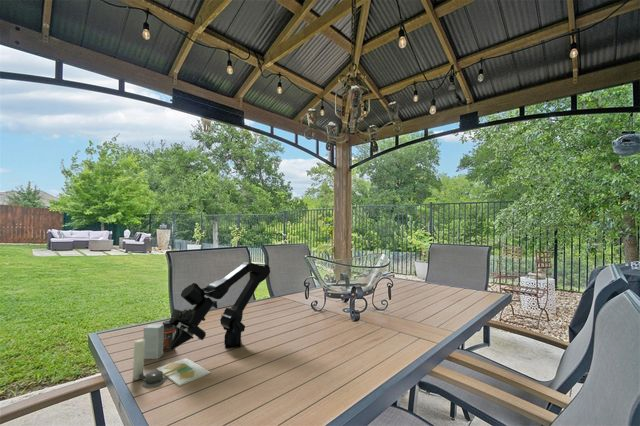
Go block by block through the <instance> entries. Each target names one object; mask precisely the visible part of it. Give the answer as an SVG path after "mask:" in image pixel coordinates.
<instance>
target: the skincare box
mask: <svg viewBox="0 0 640 426" xmlns="http://www.w3.org/2000/svg"><path fill="white" fill-rule="evenodd" d="M142 339H143V340H145V342H144V360H158V359H160V358H161V357H162V356H163V355H164V351H163V342H164V324H163V323H162V324H148V325H147V326H145V327H143V338H142Z"/></svg>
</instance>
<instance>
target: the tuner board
mask: <svg viewBox="0 0 640 426" xmlns="http://www.w3.org/2000/svg"><path fill="white" fill-rule="evenodd" d="M184 363H185V364H187V366H186V367H185V368H182V369H179V370H176V371H174V372H171V373H169V374H166V375H164V376H163V379H162V380H161V381H160V382H157V383H154V384H147V383H146V382H145V379H143V381H142V383H141V386H142V387H144V388H153V387H158V386H160V385H162V384H164V383H165V381H167V380H166V378H167V379H169V380H170V381H171V382H173V383H174V384H175V385H177V386H178V387H180V386H183V385H185V384H188V383H190V382H193V381H195V380H198V379H200V378H203V377H205V376H207V375H210V374H211V371H209V370H208V369H206V368H204V367H203V366H201V365H199V364H197V363H196V362H194V361H193V360H190V359H189V358H187V357H185V358H181V359H179V360H175V361H173V362H170V363H168V364H165V365H161V366H159V367H156V369H155V371H162V372H165V371H168V370H170V369H173V368H176V367H178V366H180V365H182V364H184Z"/></svg>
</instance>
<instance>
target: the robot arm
mask: <svg viewBox="0 0 640 426" xmlns="http://www.w3.org/2000/svg"><path fill="white" fill-rule="evenodd" d="M249 273H250V275H249V276H250V277H249V280H248V281H247V283H246V284H245V286H244V288H243V289H242V291H241V292H240V294H239V296H238V297H237V299H236V301H235V302H234V304H233V305H232V306H231V307H226V308H225V309H224V311H223V313H222V314H221V316H220V326H221V327H222V328H223V330H225V333H224V342H223V343H224V344H223V345H224V348H226V349H229V348H241V346H242V342H243V341H242V333H243V332H245V328H246V325H245V324H243V322H242V320H243V314H244V313H243V312H244V310H245V308H246V306H247V305H248V304H249V301H250V300H251V298H252V297H253V295H254V293H255V292H256V290H257V288H258V286H259V285H260V283H262V282H263V281H265V280H266V279H267V277H269V275H270V274H271V268H270V266H269V265H268V264H264V263H253V262H251V261H244V262H242V263H241V264H240V266H237V267H236V268H235V269H234V270H233V271H230V272H229V273H228V274H227V275H226V276H224V277H223V278H220V279H218V280H214V281H213V282H211V283H209V284H208V285H207V286H205V287H202V288H201V287H200V286H199V284H198V283H196V282H192V283H191V284H189V285H188V286H186V287H185V288H184V289H182V291H181V294H180V297H181V298H182V299H183V300H185V301H186V302H187V303H188V304H190V305H191V306H194V307H192V309H191V308H189V309H184V310H183V309H177V308H174V309H173V311H172V313H171V316H170V319H169V320H170V321H169V320H168V321H169V322H170V323H171V324H172V325H173V326H174V328H175V336H174V338H173V341H172V343H171V346H170V349H171V350H170V351H173V350H175V349H176V348H178V347H179V346H182V345H183V344H184V343H186V342H189V341H190V340H191V339H194V335H195V336H196V337H197V339H198V340H201V341H203V340H204V339H205V338H206V337H207V336H206V335H207V332H206V331H205V330H203V329H202V328H200V326H199V325H200V324H201V322H205V321H206V318H205V317H206V316H207V315H208V313H209V312H210V311H211V309H218V301H217V300H220V299H222V298H223V297H224V296H225V295H226V294H227V293H228V292H229V290H230V288H231V287H232V286H233V285H234V284H235V283H237V282H238V281H239V280H241V279H242V278H243V277H244V276H246V275H247V274H249ZM206 296H207V297H206ZM211 298H212V299H213V300H212V299H211Z"/></svg>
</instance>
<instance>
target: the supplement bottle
mask: <svg viewBox="0 0 640 426" xmlns="http://www.w3.org/2000/svg"><path fill="white" fill-rule="evenodd" d="M169 321H170V319H169V320H165V321H164V320H163V321H162V324H164V342H163V352H169V351H172V350H171V349H170V346H171V343H172V341H173V338H174V336H175V333H176V331H175V328H174V325H172V324H171V323H170V322H169Z"/></svg>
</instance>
